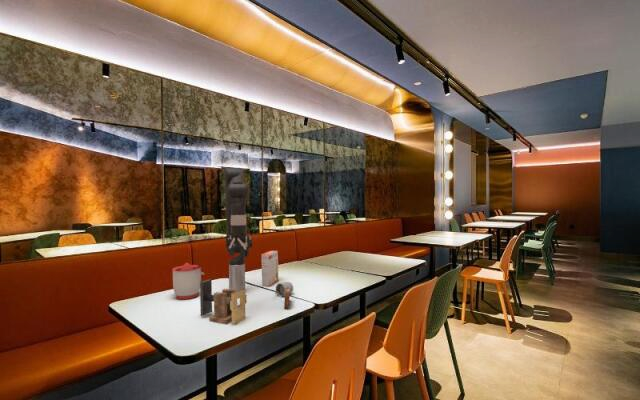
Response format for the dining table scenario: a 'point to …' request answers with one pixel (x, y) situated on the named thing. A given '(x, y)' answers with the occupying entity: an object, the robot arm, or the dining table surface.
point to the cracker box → (269, 268)
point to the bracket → (222, 307)
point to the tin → (287, 297)
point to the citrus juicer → (186, 281)
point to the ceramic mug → (283, 288)
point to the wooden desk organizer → (207, 297)
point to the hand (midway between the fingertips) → (239, 256)
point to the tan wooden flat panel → (239, 310)
